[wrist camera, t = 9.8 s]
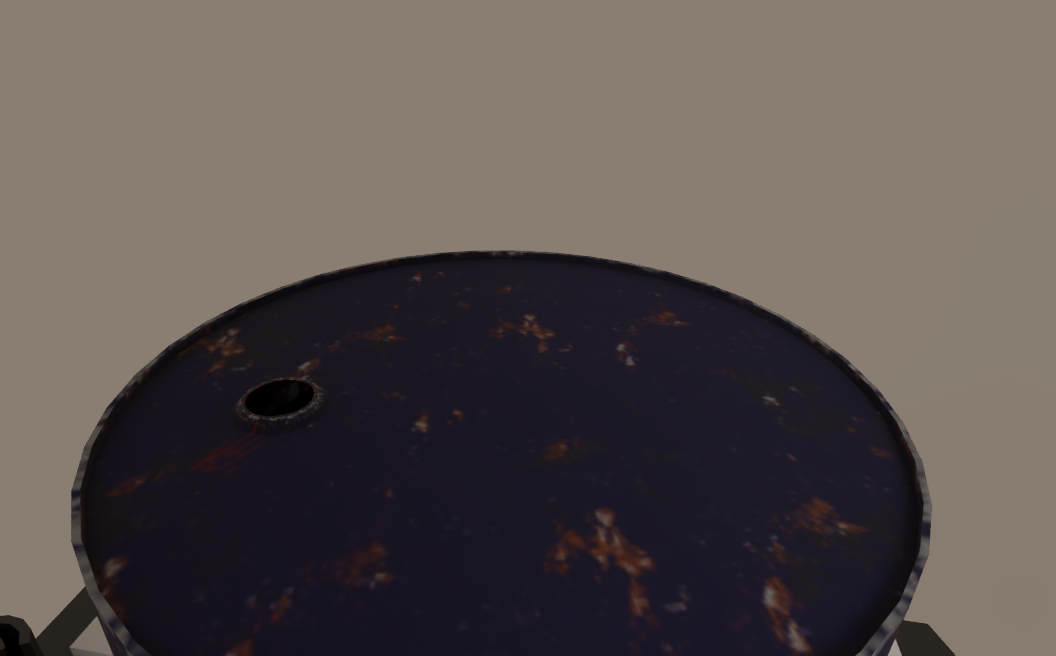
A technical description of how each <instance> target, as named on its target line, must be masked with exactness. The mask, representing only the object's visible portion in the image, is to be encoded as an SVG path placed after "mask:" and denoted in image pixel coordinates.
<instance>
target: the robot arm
mask: <svg viewBox="0 0 1056 656" xmlns="http://www.w3.org/2000/svg"><path fill="white" fill-rule="evenodd" d="M0 656H113V654H112V651H111V649H110V646H109V644H108V641H107V639H106V637H105V634H104V632H103V629H102V627H101V624H100V622H99V619H98V617H97V615H96V612H95V610H94V607H93V605H92V602H91V600H90V597H89V595H88V592H87V589H86V586H85V587H84V588H83V589H82V591H81V592H80V593H79V594H78V595H77V596H76V597H75V598H74V599H73V600H72V601H71V602H70V603H69V604H68V605H67V607H65V609H64V610H63V611H62V612H61V613H60V614H59V615H58V616H57V617H56V618H55V619H54V620H53V621H52V622H51V623H50V624H49V626H47V628H46V629H45V630H44V631H43V632H42V633H41V634H40V635H39V636H38V637H37V638H36V639H35V637H34V635H33V633H32V630H31V628H30V627H29V626H28V625H27V623H26V622H25V621H24V620H23V619H21V618H17V617H13V616H10V615H6V616H0ZM888 656H955V655H954V653H953V652H952V651H951V650H950V649H949V647H948V646H947V645H946V644H945V643H944V642H943V641H942V640H941V639H940V637H938V635H937V634H936V633H935V632H934V631H933V629H932V628H931V627H930V626H929V625H928V624H924V623H917V622H910V621H904V620H903V622H902V624H901V626H900V629H899V631H898V633H897V636H896V638H895V640H894V643H893V645H892V647H891V650H890V652H889V654H888Z"/></svg>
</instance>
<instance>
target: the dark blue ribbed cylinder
mask: <svg viewBox="0 0 1056 656" xmlns="http://www.w3.org/2000/svg"><path fill="white" fill-rule="evenodd" d="M71 493H72V494H71V496H72V498H71V499H72V500H71V503H72V504H71V519H72V520H71V527H72V528H71V542H72V545H73V548H74V551H75V554H76V557H77V560H78V564H79V567H80V570H81V573H82V576H83V579H84V582H85V585H86V589H87V592H88V595H89V597H90V600H91V602H92V605H93V607H94V610H95V612H96V615H97V617H98V619H99V622H100V624H101V627H102V629H103V632H104V634H105V637H106V639H107V641H108V644H109V646H110V649H111V651H112V654H113V656H888V654H889V652H890V650H891V647H892V645H893V643H894V640H895V638H896V636H897V633H898V631H899V629H900V626H901V624H902V622H903V619H904V617H905V615H906V613H907V610H908V608H909V606H910V603H911V600H912V598H913V595H914V592H915V590H916V587H917V584H918V582H919V579H920V576H921V574H922V571H923V568H924V566H925V563H926V560H927V558H928V555H929V544H930V528H931V512H932V504H931V499H930V495H929V490H928V486H927V481H926V477H925V472H924V467H923V463H922V460H921V458H920V456H919V454H918V452H917V450H916V448H915V446H914V444H913V442H912V440H911V438H910V436H909V433H908V432H907V429H906V427H905V425H904V424H903V422H902V420H901V419H900V418H899V417H898V415H897V414H896V413H895V411H894V410H893V408H892V407H891V406H890V404H889V403H888V402H887V401H886V399H885V398H884V397H883V395H882V394H881V393H880V391H879V390H878V389H877V388H876V387H875V386H874V385H873V384H872V383H871V382H870V381H869V380H868V379H867V378H866V377H865V376H864V375H863V374H862V373H861V372H860V371H858V370H857V368H855V367H854V366H853V365H852V364H851V363H850V362H849V361H848V360H847V359H846V358H844V357H843V356H842V355H840V354H839V353H838V352H836V351H835V350H834V349H832V348H831V347H830V346H828V345H827V344H826V343H824V342H823V341H821V340H820V339H819V338H817V337H816V336H815V335H813V334H811V333H810V332H808V331H806V330H805V329H803V328H801V327H800V326H798V325H796V324H794V323H793V322H791V321H789V320H788V319H786V318H784V317H783V316H781V315H779V314H777V313H775V312H773V311H771V310H769V309H767V308H764V307H762V306H760V305H758V304H756V303H754V302H752V301H750V300H747V299H745V298H743V297H741V296H738V295H735V294H733V293H730V292H728V291H725V290H722V289H720V288H717V287H714V286H712V285H709V284H706V283H703V282H700V281H696V280H693V279H690V278H686V277H683V276H680V275H677V274H673V273H670V272H666V271H662V270H657V269H653V268H649V267H644V266H640V265H635V264H632V263H626V262H620V261H613V260H608V259H602V258H596V257H589V256H580V255H571V254H561V253H551V252H532V251H464V252H448V253H434V254H426V255H418V256H409V257H400V258H394V259H390V260H383V261H378V262H372V263H366V264H361V265H357V266H352V267H348V268H344V269H340V270H336V271H332V272H328V273H324V274H320V275H317V276H314V277H311V278H307V279H305V280H301V281H298V282H295V283H292V284H289V285H286V286H283V287H280V288H277V289H275V290H273V291H270V292H268V293H265V294H263V295H260V296H258V297H256V298H253V299H251V300H248V301H246V302H243V303H241V304H239V305H237V306H236V307H234V308H232V309H230V310H228V311H226V312H224V313H222V314H220V315H218V316H216V317H214V318H212V319H210V320H208V321H206V322H205V323H203V324H202V325H200V326H199V327H197V328H196V329H194V330H193V331H191V332H189V333H188V334H186V335H185V336H183V337H182V338H180V339H179V340H177V341H176V342H174V343H173V344H171V345H170V346H168V347H167V348H166V349H165V350H164V351H162V352H161V353H160V354H159V355H158V356H157V357H155V358H154V359H153V360H152V361H151V362H150V363H148V364H147V365H146V366H145V367H144V368H142V369H141V370H140V371H139V372H138V373H137V374H136V375H135V376H134V377H133V378H132V379H131V380H130V381H129V383H128V384H127V385H126V386H125V387H124V388H123V390H122V391H121V392H120V393H119V394H118V395H117V397H116V398H115V399H114V400H113V401H112V402H111V404H110V405H109V406H108V407H107V408H106V410H105V412H104V414H103V415H102V417H101V419H100V421H99V422H98V424H97V426H96V428H95V429H94V431H93V433H92V435H91V436H90V438H89V440H88V442H87V443H86V445H85V447H84V450H83V453H82V457H81V461H80V464H79V467H78V471H77V474H76V478H75V481H74V485H73V488H72V491H71Z"/></svg>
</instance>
